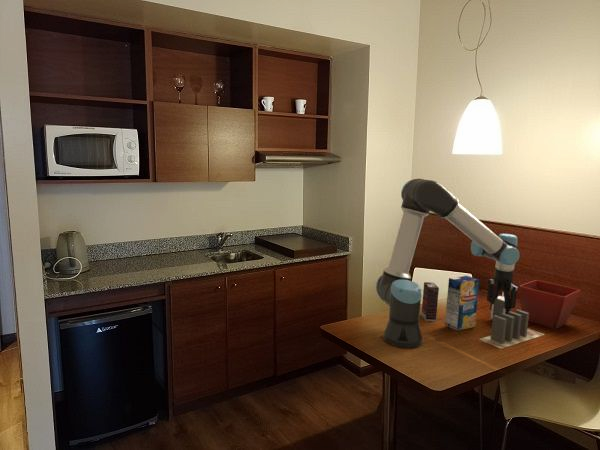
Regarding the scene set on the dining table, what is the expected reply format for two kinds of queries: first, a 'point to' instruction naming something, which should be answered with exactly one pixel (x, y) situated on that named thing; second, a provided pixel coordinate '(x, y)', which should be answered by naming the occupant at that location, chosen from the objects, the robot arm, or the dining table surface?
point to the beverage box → (462, 302)
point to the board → (513, 339)
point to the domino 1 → (498, 307)
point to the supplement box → (430, 301)
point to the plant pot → (548, 302)
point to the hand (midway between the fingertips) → (498, 319)
